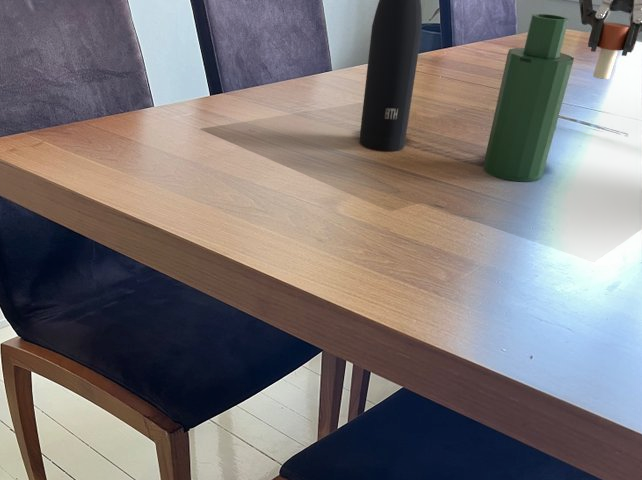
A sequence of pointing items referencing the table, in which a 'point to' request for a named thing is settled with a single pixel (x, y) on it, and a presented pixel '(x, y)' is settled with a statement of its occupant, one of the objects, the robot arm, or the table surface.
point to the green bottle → (529, 102)
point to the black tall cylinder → (390, 74)
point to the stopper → (609, 47)
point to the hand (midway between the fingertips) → (609, 49)
